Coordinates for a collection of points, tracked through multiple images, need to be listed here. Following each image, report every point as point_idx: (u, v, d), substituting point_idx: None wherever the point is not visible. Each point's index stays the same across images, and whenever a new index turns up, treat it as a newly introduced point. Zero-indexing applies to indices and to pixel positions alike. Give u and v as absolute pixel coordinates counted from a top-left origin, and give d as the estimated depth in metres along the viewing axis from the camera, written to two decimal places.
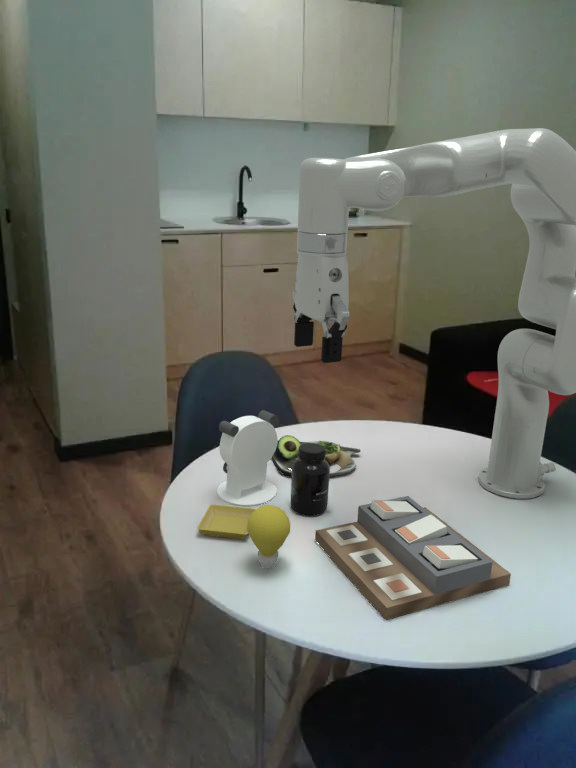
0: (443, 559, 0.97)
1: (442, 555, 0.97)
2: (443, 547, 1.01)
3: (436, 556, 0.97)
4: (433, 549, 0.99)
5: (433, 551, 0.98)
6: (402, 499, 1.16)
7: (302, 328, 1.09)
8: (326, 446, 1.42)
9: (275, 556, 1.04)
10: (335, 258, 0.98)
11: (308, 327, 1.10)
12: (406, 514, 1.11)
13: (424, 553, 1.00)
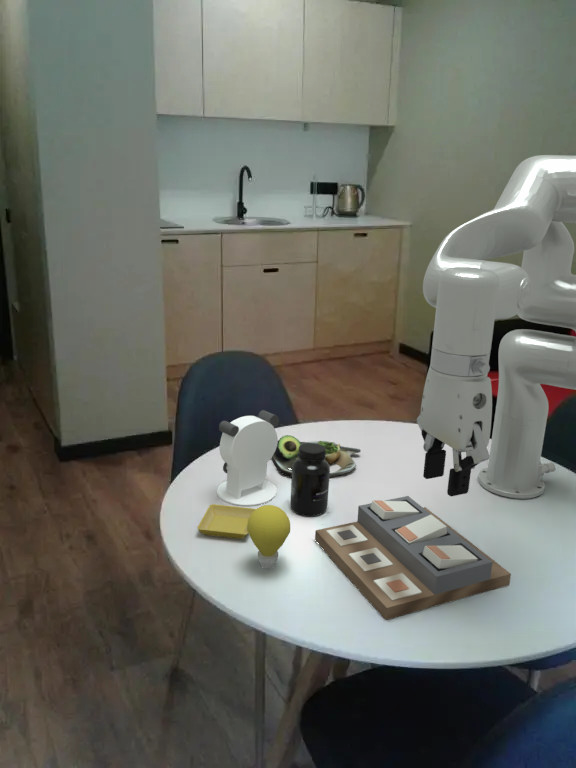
0: (443, 559, 0.97)
1: (442, 555, 0.97)
2: (443, 547, 1.01)
3: (436, 556, 0.97)
4: (433, 549, 0.99)
5: (433, 551, 0.98)
6: (402, 499, 1.16)
7: (434, 459, 0.96)
8: (326, 446, 1.42)
9: (275, 556, 1.04)
10: (480, 382, 0.86)
11: (440, 457, 0.96)
12: (406, 514, 1.11)
13: (424, 553, 1.00)
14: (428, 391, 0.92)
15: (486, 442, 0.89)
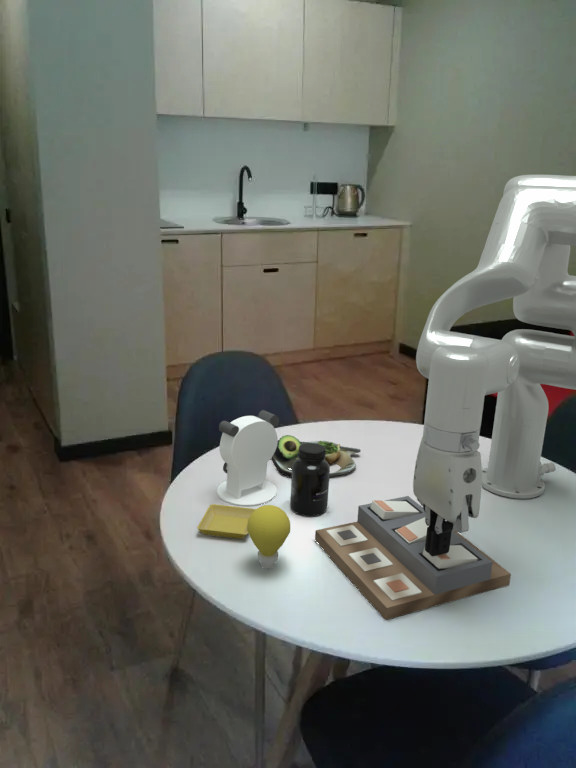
0: (443, 559, 0.97)
1: (442, 555, 0.97)
2: None
3: (436, 556, 0.97)
4: None
5: None
6: (402, 499, 1.16)
7: None
8: (326, 446, 1.42)
9: (275, 556, 1.04)
10: (470, 458, 0.89)
11: None
12: (406, 514, 1.11)
13: (424, 553, 1.00)
14: (420, 461, 0.96)
15: (476, 513, 0.92)
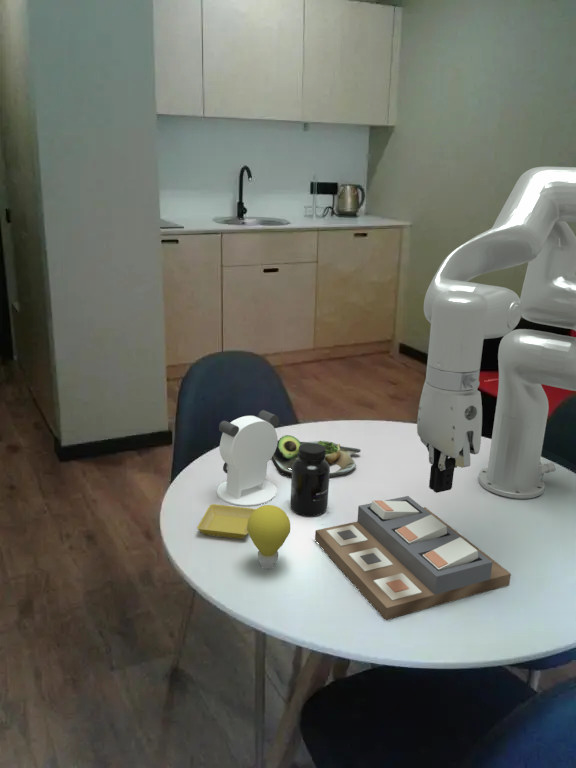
0: (441, 567, 0.97)
1: (439, 562, 0.98)
2: (441, 548, 1.01)
3: (434, 565, 0.98)
4: (430, 557, 0.99)
5: (430, 560, 0.99)
6: (402, 499, 1.16)
7: None
8: (326, 446, 1.42)
9: (275, 556, 1.04)
10: (471, 396, 0.95)
11: None
12: (406, 514, 1.11)
13: None
14: (424, 403, 1.01)
15: (477, 449, 0.98)
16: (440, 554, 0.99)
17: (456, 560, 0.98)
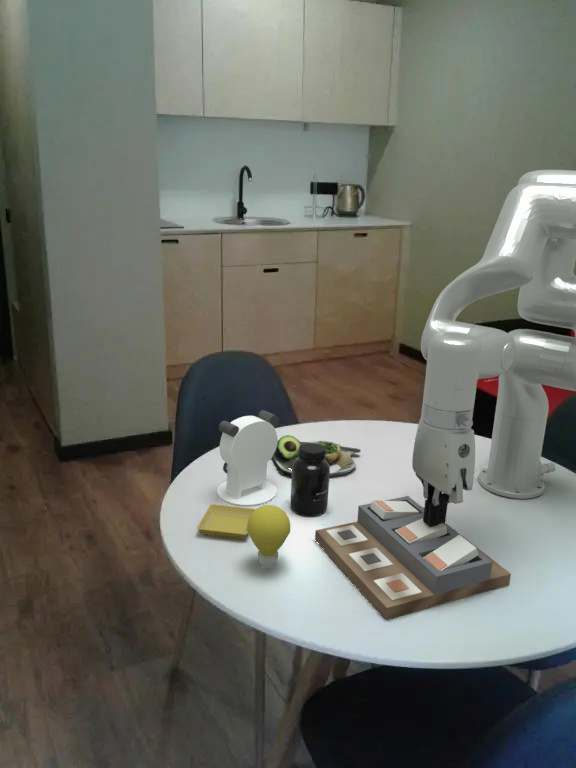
0: (441, 569, 0.97)
1: (438, 565, 0.98)
2: (441, 549, 1.01)
3: None
4: (430, 560, 0.99)
5: (430, 563, 0.99)
6: (402, 499, 1.16)
7: None
8: (326, 446, 1.42)
9: (275, 556, 1.04)
10: (464, 434, 0.98)
11: None
12: (406, 514, 1.11)
13: None
14: (419, 439, 1.04)
15: (470, 486, 1.00)
16: (440, 555, 1.00)
17: (455, 561, 0.98)
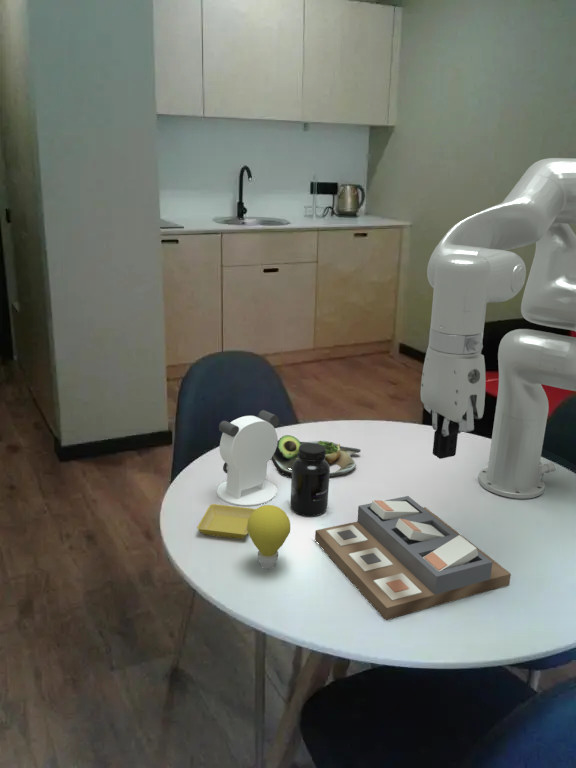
0: (441, 569, 0.97)
1: (438, 564, 0.98)
2: (441, 549, 1.01)
3: None
4: (430, 560, 0.99)
5: (430, 563, 0.99)
6: (402, 499, 1.16)
7: None
8: (326, 446, 1.42)
9: (275, 556, 1.04)
10: (474, 359, 0.94)
11: None
12: (406, 514, 1.11)
13: None
14: (427, 368, 1.01)
15: (480, 414, 0.97)
16: (440, 555, 1.00)
17: (456, 560, 0.98)
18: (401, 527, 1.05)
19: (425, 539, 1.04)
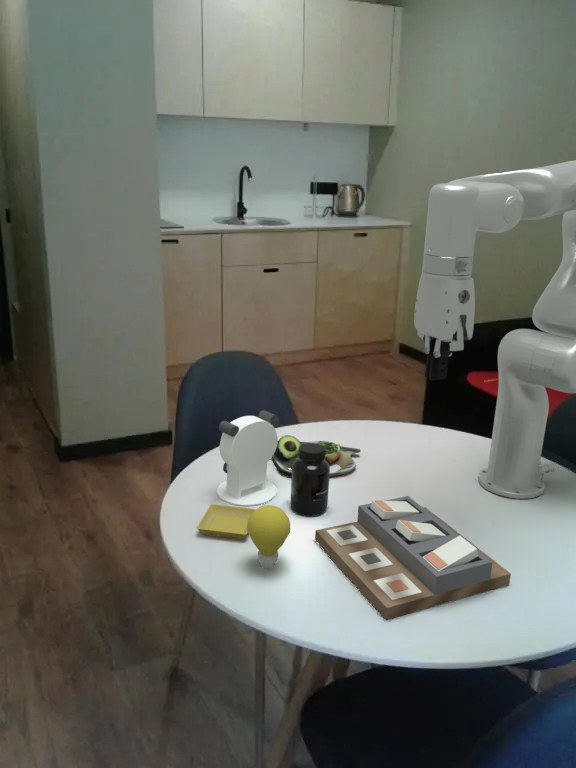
0: (441, 568, 0.97)
1: (439, 564, 0.98)
2: (441, 549, 1.01)
3: (434, 567, 0.98)
4: (430, 559, 0.99)
5: (430, 562, 0.99)
6: (402, 499, 1.16)
7: None
8: (326, 446, 1.42)
9: (275, 556, 1.04)
10: (464, 280, 1.01)
11: None
12: (406, 514, 1.11)
13: None
14: (420, 294, 1.08)
15: (470, 334, 1.04)
16: (440, 555, 1.00)
17: (456, 560, 0.98)
18: (401, 528, 1.05)
19: (425, 539, 1.04)
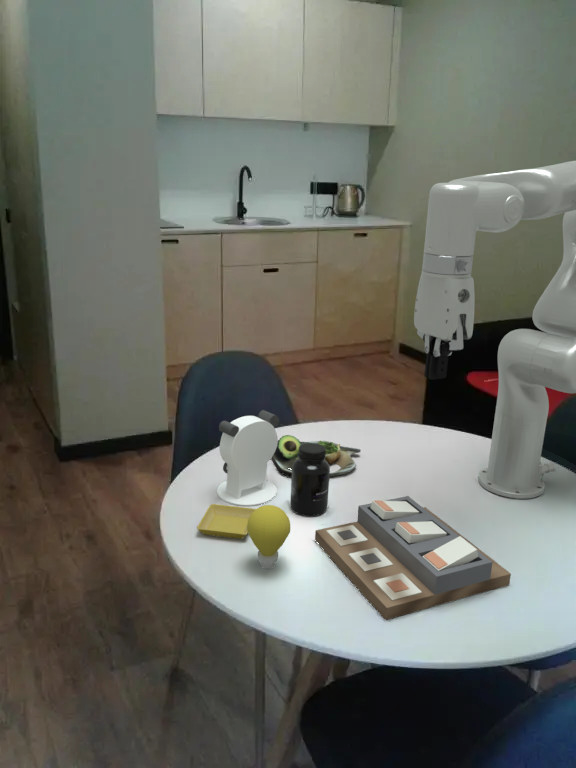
0: (441, 568, 0.97)
1: (439, 563, 0.98)
2: (441, 549, 1.01)
3: (434, 567, 0.98)
4: (430, 558, 0.99)
5: (430, 561, 0.99)
6: (402, 499, 1.16)
7: None
8: (326, 446, 1.42)
9: (275, 556, 1.04)
10: (464, 280, 1.01)
11: None
12: (406, 514, 1.11)
13: None
14: (420, 293, 1.08)
15: (470, 333, 1.04)
16: (440, 555, 1.00)
17: (456, 560, 0.98)
18: (400, 531, 1.05)
19: (425, 540, 1.04)
